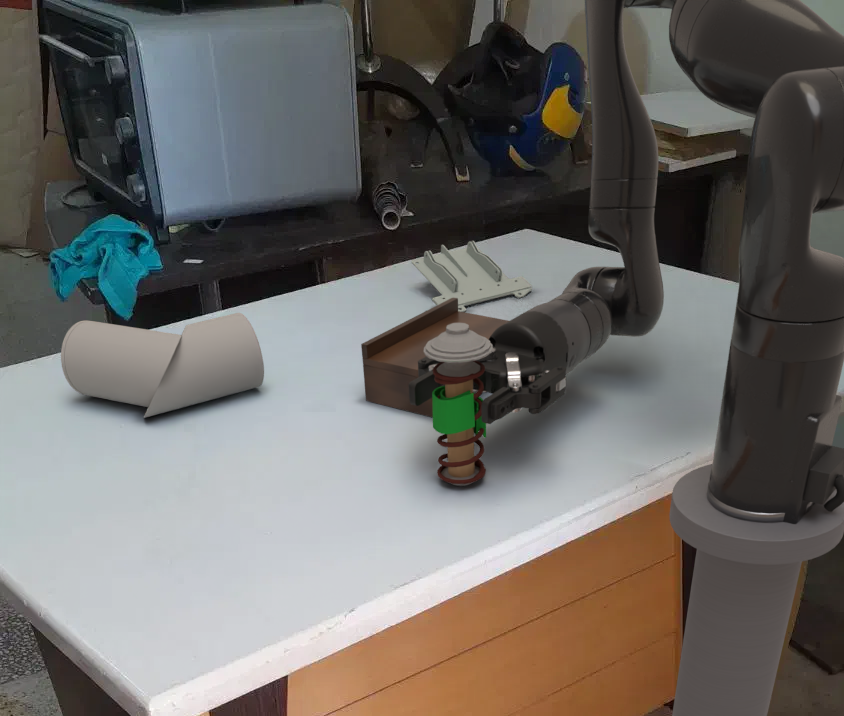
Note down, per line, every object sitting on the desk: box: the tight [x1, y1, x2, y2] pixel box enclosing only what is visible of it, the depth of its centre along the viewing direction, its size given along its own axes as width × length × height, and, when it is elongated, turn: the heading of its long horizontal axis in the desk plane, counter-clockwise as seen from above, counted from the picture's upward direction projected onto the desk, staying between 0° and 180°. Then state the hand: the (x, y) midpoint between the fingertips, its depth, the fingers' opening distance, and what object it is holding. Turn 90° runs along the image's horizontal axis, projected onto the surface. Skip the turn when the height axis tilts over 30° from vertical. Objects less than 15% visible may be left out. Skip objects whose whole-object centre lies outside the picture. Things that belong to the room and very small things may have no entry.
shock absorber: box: [423, 323, 493, 487], centre depth 96 cm, size 6×6×15 cm
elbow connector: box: [60, 312, 265, 419], centre depth 118 cm, size 18×11×20 cm
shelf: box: [360, 298, 509, 418], centre depth 118 cm, size 12×18×6 cm, turn 144°
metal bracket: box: [411, 240, 533, 312], centre depth 145 cm, size 14×6×15 cm
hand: (447, 404), depth 94 cm, fingers open, 8 cm apart
